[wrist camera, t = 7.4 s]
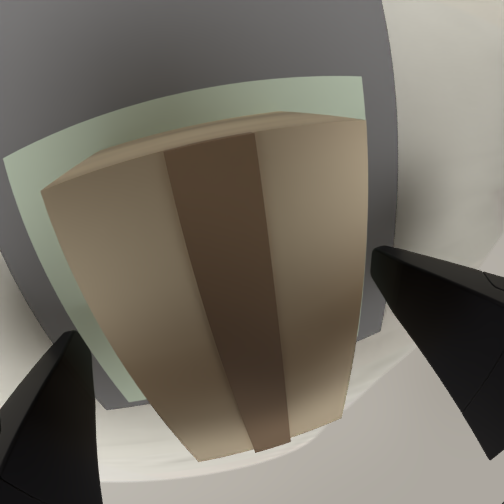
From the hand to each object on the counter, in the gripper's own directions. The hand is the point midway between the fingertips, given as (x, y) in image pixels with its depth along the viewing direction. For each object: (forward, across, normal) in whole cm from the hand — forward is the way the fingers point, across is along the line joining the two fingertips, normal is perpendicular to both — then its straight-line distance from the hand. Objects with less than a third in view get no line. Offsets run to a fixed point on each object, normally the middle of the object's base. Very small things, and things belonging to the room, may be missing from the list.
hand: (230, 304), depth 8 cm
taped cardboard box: (+2, 0, 0) cm, 2 cm away
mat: (+2, 0, -8) cm, 8 cm away
